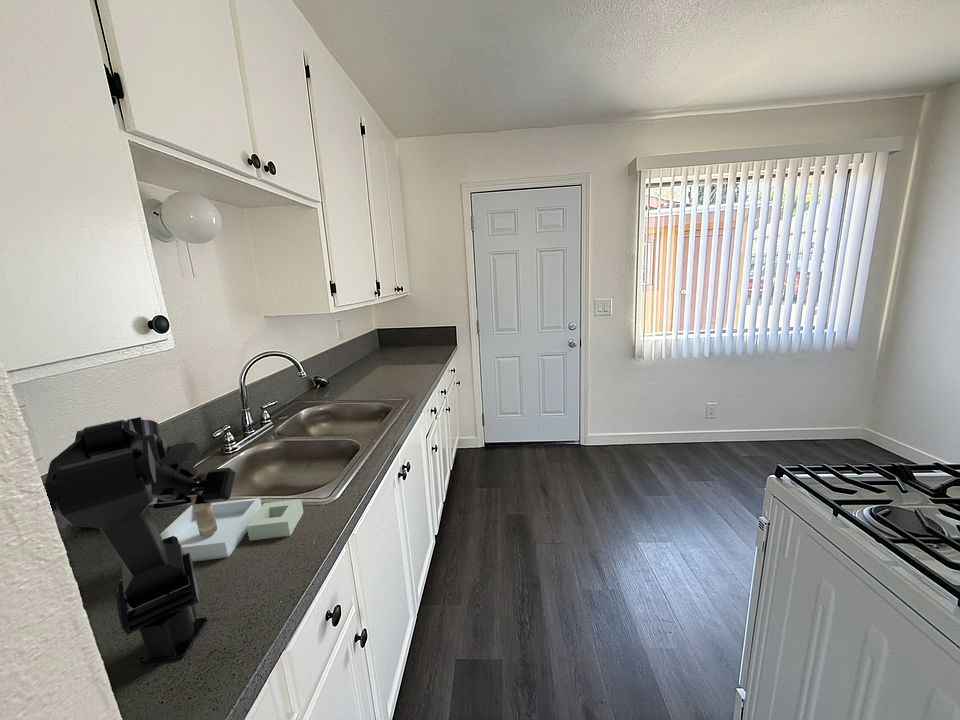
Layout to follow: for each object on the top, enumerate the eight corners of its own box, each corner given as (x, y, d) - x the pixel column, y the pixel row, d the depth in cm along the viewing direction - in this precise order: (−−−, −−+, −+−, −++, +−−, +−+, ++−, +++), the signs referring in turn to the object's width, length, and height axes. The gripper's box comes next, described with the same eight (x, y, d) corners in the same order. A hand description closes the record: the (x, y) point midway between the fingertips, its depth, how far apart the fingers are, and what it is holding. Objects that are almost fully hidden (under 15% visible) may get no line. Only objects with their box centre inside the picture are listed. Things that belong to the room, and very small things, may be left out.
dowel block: (290, 535, 82) (287, 521, 82) (249, 540, 82) (246, 526, 81) (303, 512, 91) (301, 499, 90) (266, 516, 90) (263, 503, 89)
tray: (228, 557, 77) (224, 542, 76) (145, 567, 76) (141, 552, 75) (262, 510, 92) (260, 497, 91) (194, 518, 91) (190, 505, 90)
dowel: (212, 535, 82) (199, 485, 79) (196, 537, 82) (183, 486, 79) (220, 525, 85) (208, 477, 83) (205, 527, 85) (193, 478, 82)
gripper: (220, 432, 75) (256, 457, 88) (118, 442, 73) (170, 466, 87) (205, 490, 69) (247, 507, 82) (94, 502, 68) (154, 518, 81)
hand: (205, 498), depth 83 cm, fingers open, 4 cm apart
